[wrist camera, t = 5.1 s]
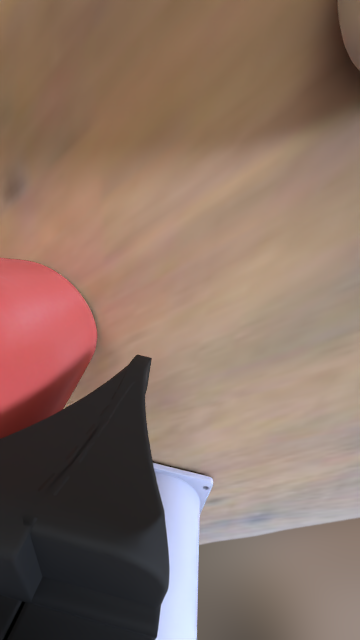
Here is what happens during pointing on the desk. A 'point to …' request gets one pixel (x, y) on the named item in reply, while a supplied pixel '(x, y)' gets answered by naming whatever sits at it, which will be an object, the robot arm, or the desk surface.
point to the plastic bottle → (350, 28)
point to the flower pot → (39, 343)
